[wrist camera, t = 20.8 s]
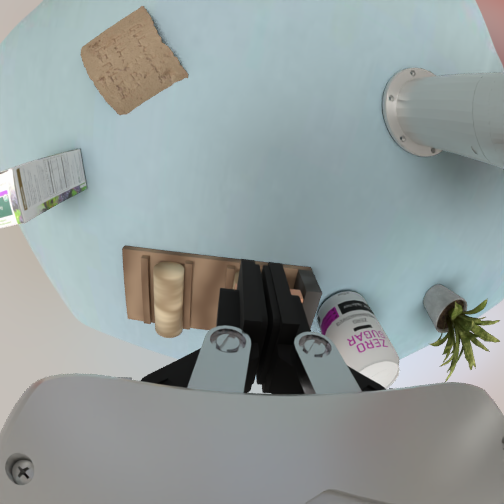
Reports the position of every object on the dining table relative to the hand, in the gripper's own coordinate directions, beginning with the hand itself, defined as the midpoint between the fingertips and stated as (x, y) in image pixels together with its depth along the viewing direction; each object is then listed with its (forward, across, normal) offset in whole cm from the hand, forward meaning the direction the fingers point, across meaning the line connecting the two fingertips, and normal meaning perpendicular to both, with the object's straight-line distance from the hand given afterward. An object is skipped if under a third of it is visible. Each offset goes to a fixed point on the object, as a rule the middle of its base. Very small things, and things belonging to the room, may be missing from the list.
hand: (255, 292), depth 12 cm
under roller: (+24, +8, +17) cm, 31 cm away
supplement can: (+25, -18, +18) cm, 36 cm away
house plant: (+25, -35, +14) cm, 45 cm away
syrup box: (+25, +24, +1) cm, 35 cm away
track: (+25, +2, +17) cm, 30 cm away
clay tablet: (+26, +16, -14) cm, 34 cm away
